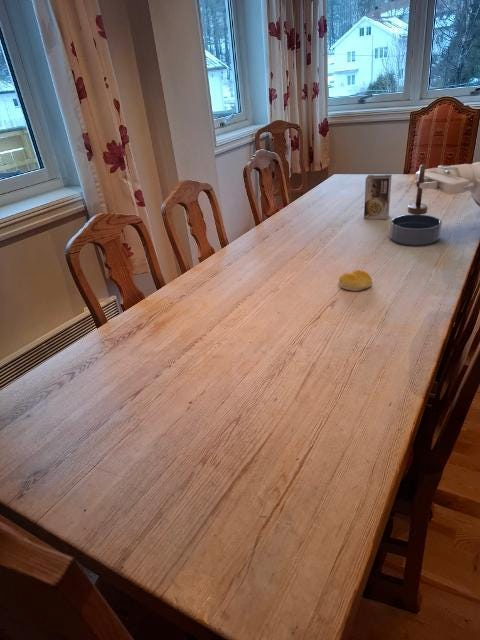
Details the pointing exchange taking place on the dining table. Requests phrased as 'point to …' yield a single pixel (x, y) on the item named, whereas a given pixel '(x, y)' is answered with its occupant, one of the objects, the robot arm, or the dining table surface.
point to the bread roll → (355, 280)
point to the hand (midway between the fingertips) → (418, 185)
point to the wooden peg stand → (419, 196)
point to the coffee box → (377, 196)
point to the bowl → (415, 229)
